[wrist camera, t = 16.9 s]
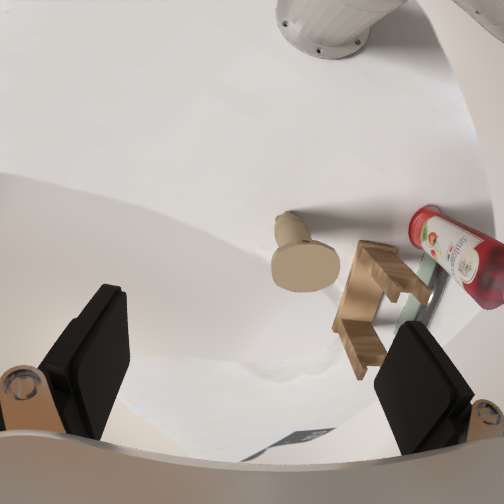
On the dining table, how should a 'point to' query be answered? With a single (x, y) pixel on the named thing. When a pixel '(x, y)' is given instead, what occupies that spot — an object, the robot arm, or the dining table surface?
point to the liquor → (462, 254)
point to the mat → (412, 302)
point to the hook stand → (372, 301)
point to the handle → (301, 257)
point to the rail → (432, 294)
